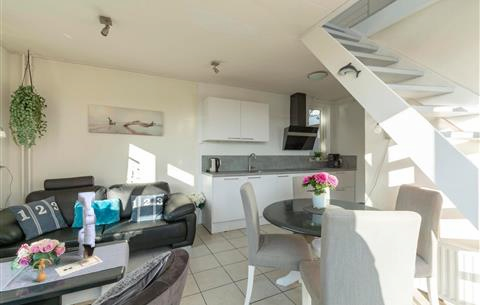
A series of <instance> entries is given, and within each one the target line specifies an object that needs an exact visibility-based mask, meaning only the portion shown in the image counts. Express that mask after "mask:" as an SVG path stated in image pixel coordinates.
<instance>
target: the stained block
mask: <svg viewBox="0 0 480 305" xmlns="http://www.w3.org/2000/svg"><path fill="white" fill-rule="evenodd" d="M94 252H95V251H93V255H92V256H89V257H88V252H87V249H85V250H83V257H82V258H83V260H84V259H89V258H92V257H94V256H95V253H94Z"/></svg>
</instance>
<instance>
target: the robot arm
mask: <svg viewBox="0 0 480 305" xmlns="http://www.w3.org/2000/svg"><path fill="white" fill-rule="evenodd" d="M77 195H78V196H77V200H78V201H77V202H78V205H79V206H81V207H82V228H81V229H80V230H78V232H77V233H78V234H77V243H79V246H78V252H77V253H76V254H77V255H78V256H80V258H83V250H85V249H87V252H88V257H89V256H92V255H93V251H94V250H95V249H96V247H97V244H96V243H95V242H96V240H95V239H96V223H97V217H96V214H95V209H94V207H92V204H94V203H95V198H96V193H95V191H86V192H85V191H84V192H78V194H77ZM95 253H96V252H95V251H94V254H95Z"/></svg>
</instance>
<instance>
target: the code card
mask: <svg viewBox="0 0 480 305" xmlns="http://www.w3.org/2000/svg"><path fill="white" fill-rule="evenodd" d="M103 262H104V260H102V259H101V258H99V257H98V256H97V255H94V257H92V258H89V259H84V258H83V259H81V260H79V261H75V262H72V263H69V264H65V265H64V266H63V265H62V266H59V267H56V268H54V270H55V271H56V273H57V274H58V275H59V277H63V276H66V275H69V274H72V273H74V272H77V271H80V270H83V269H86V268H89V267H91V266H92V267H93V266H94V265H97V264H100V263H103Z"/></svg>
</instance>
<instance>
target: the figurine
mask: <svg viewBox="0 0 480 305" xmlns="http://www.w3.org/2000/svg"><path fill="white" fill-rule="evenodd" d="M46 261H48V263H49V264H50V265H52V262H51V261H50V260H49V259H47V258H43V257H42V258H40V259H39V260H37V261H35V262H34V263H33V264H32V266H31V271H32V270H33V268H34V266H35V265H36V264H38V263H39V265H38V272H39V274H38V275H37V276H36V280H37V282H43V281H44V280H46V279H47V277H48V276H47V273H45V267H46V264H45V262H46ZM41 268H42V272H41Z"/></svg>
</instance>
